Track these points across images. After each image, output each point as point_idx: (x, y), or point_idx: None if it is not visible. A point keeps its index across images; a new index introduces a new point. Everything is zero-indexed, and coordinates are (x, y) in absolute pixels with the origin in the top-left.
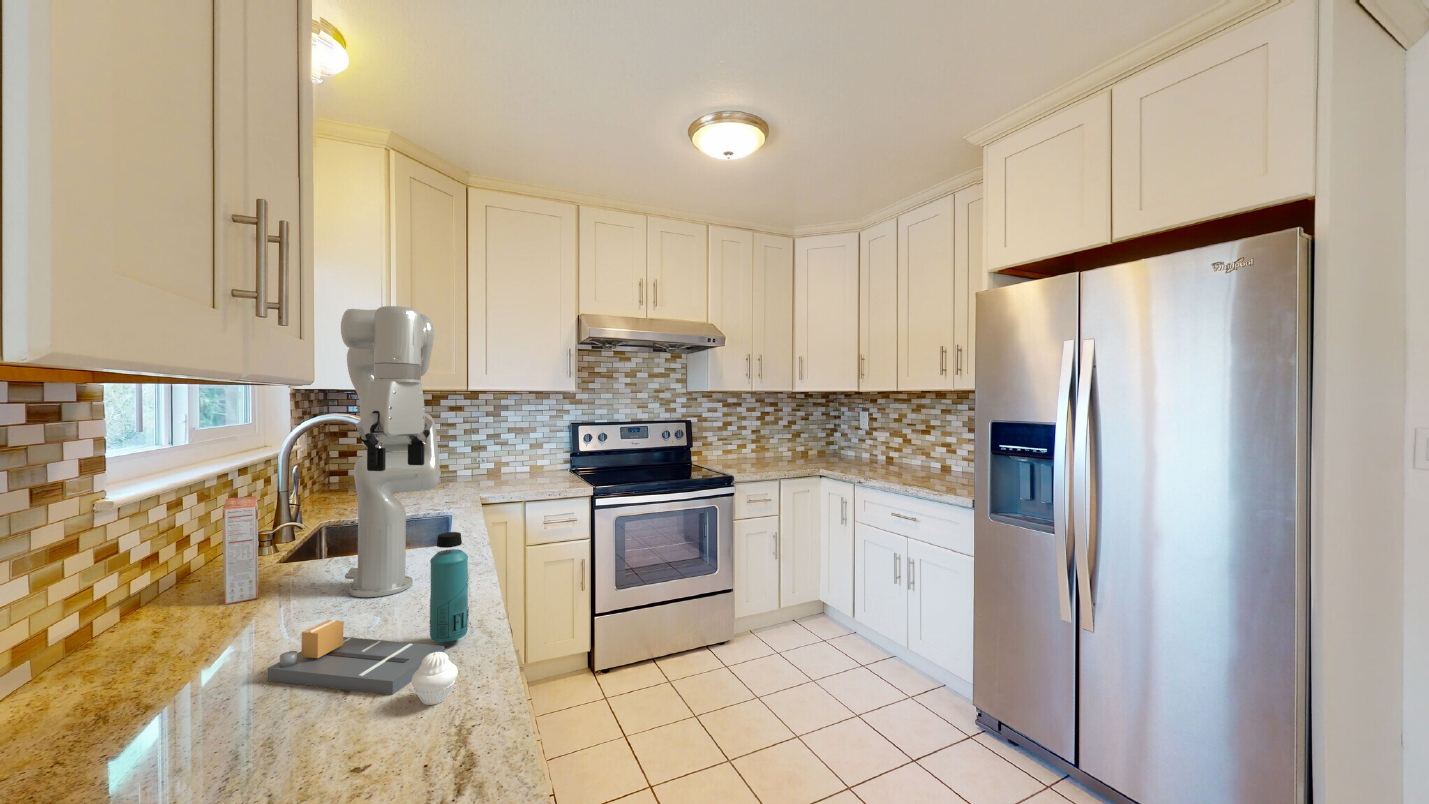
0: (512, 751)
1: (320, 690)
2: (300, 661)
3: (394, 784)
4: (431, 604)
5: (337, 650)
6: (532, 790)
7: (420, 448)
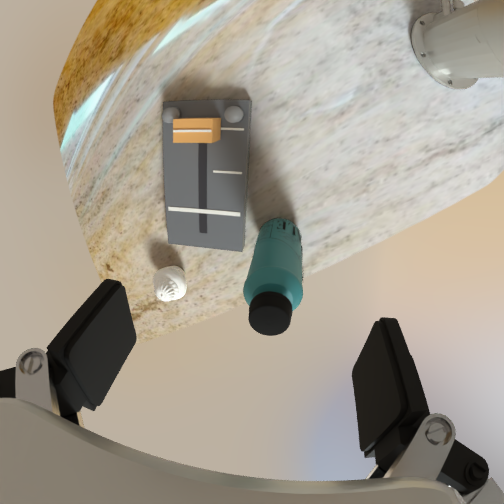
0: (148, 332)
1: None
2: None
3: None
4: (258, 243)
5: None
6: None
7: (362, 435)
